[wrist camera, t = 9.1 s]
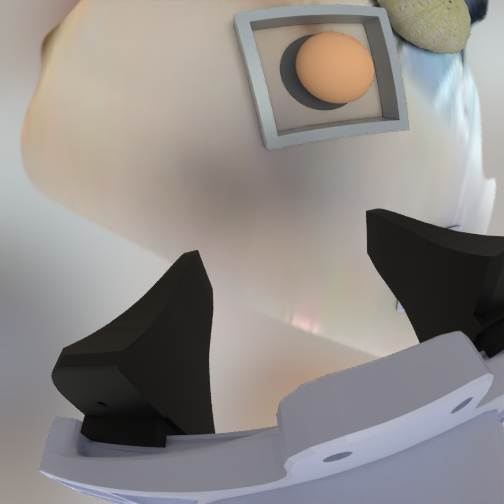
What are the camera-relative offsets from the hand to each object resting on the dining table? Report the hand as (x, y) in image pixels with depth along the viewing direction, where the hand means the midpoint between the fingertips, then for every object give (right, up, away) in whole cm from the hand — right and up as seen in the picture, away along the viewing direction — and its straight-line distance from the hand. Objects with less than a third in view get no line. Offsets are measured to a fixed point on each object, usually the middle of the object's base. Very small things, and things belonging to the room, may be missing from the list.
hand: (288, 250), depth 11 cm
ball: (+3, +13, +5) cm, 14 cm away
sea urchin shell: (+12, +20, +2) cm, 24 cm away
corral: (+4, +13, +5) cm, 14 cm away
